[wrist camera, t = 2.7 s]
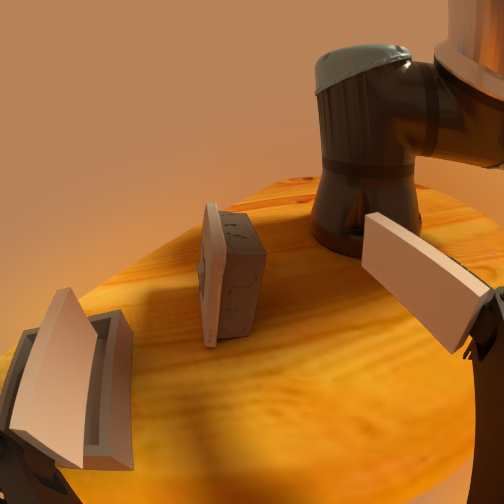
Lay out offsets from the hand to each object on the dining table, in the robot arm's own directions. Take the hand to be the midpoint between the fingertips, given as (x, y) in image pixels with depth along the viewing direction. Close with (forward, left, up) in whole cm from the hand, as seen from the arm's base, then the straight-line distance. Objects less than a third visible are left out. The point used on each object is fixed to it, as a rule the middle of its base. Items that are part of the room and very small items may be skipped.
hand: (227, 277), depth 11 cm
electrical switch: (0, -10, -11) cm, 15 cm away
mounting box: (+16, -3, -11) cm, 19 cm away
